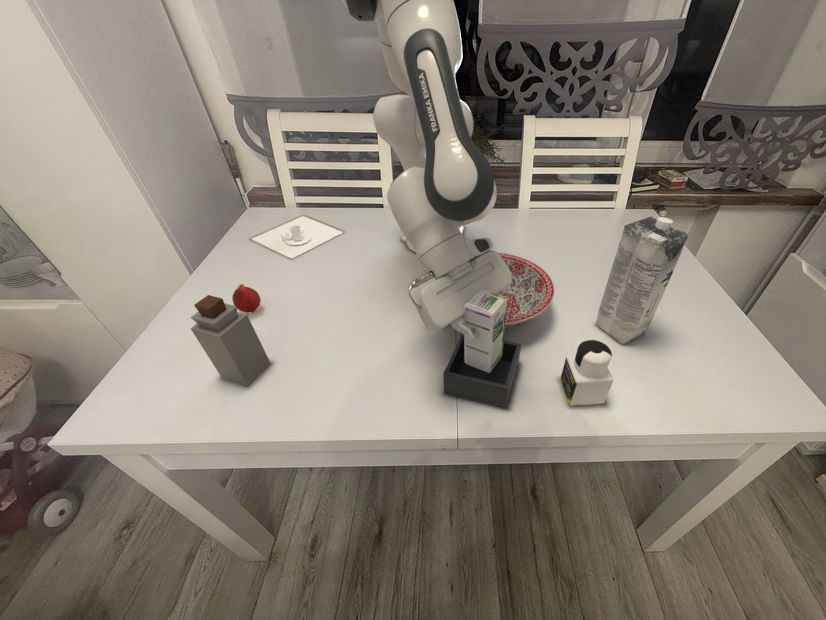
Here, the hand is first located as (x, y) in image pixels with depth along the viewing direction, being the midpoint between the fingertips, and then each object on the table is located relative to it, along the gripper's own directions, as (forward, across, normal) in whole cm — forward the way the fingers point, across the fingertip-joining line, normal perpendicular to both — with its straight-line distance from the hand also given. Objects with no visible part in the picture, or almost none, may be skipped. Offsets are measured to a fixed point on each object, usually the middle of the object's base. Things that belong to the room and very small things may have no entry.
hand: (487, 328), depth 71 cm
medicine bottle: (+22, +11, -1) cm, 24 cm away
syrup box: (+6, 0, +6) cm, 9 cm away
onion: (-30, -23, +50) cm, 62 cm away
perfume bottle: (-17, -32, +37) cm, 52 cm away
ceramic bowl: (0, +18, +20) cm, 27 cm away
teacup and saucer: (-49, +5, +69) cm, 85 cm away
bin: (+10, 0, +10) cm, 14 cm away
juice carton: (+19, +34, +1) cm, 39 cm away
